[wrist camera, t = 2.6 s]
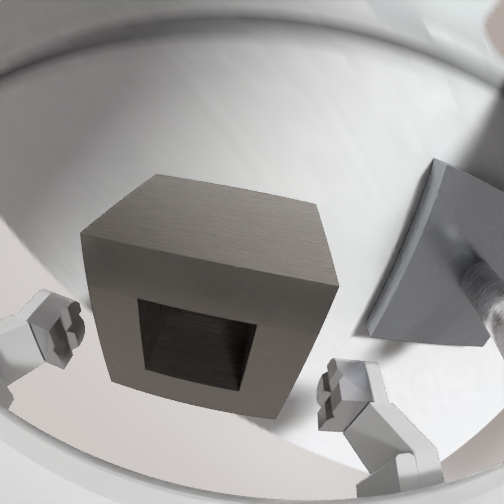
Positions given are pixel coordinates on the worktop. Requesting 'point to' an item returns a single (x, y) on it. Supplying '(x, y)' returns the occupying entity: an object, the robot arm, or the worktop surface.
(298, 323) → the collar
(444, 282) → the shaft stand
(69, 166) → the worktop surface
